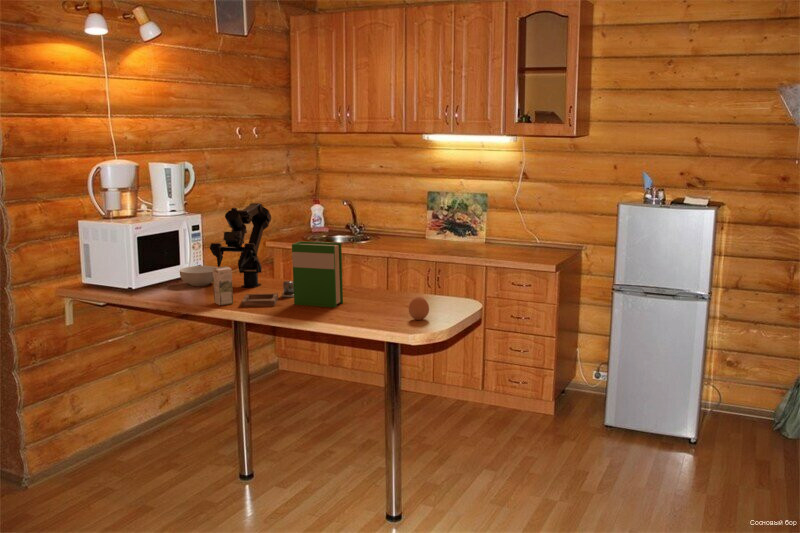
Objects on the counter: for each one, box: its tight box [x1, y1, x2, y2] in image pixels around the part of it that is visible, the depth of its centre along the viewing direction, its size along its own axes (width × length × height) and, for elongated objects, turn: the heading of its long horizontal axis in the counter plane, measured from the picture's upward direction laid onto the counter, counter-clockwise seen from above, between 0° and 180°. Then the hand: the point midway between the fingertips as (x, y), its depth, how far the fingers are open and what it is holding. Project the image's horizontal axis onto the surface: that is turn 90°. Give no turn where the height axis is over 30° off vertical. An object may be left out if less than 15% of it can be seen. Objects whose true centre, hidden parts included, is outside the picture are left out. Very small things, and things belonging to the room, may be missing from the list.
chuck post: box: [281, 280, 294, 299], centre depth 319 cm, size 6×6×6 cm
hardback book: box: [291, 240, 344, 308], centre depth 304 cm, size 18×7×24 cm, turn 71°
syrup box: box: [212, 266, 234, 306], centre depth 307 cm, size 6×6×14 cm
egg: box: [408, 295, 430, 321], centre depth 279 cm, size 7×7×8 cm
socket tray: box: [240, 293, 279, 308], centre depth 309 cm, size 13×13×2 cm
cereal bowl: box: [179, 265, 218, 287], centre depth 345 cm, size 17×17×7 cm
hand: (229, 266), depth 314 cm, fingers open, 9 cm apart
